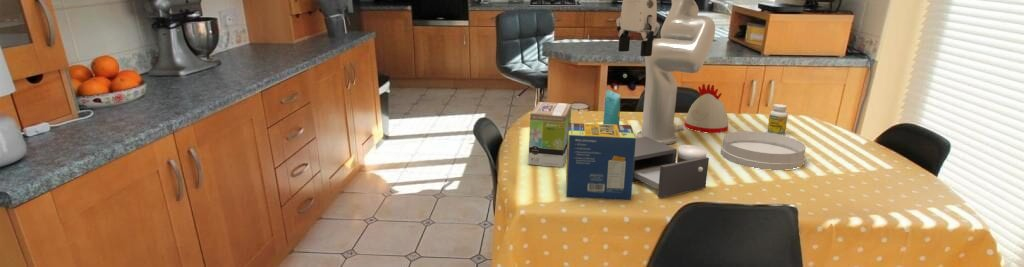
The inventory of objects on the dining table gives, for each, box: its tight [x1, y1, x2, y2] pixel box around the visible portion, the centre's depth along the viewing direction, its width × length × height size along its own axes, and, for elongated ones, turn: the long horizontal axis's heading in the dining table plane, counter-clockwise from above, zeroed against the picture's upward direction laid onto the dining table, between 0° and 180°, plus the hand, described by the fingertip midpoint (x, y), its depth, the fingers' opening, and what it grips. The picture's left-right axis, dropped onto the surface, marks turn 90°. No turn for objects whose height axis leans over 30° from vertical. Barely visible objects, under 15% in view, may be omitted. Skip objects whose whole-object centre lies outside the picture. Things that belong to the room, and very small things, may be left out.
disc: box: [677, 144, 708, 160], centre depth 143 cm, size 7×7×2 cm
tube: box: [602, 89, 622, 125], centre depth 154 cm, size 7×5×19 cm, turn 26°
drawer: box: [633, 156, 710, 199], centre depth 136 cm, size 12×15×8 cm
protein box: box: [565, 122, 637, 201], centre depth 132 cm, size 10×15×16 cm
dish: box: [720, 130, 807, 171], centre depth 158 cm, size 22×22×5 cm
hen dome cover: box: [684, 83, 729, 134], centre depth 187 cm, size 14×14×15 cm
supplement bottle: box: [766, 103, 789, 136], centre depth 181 cm, size 5×5×10 cm
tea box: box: [527, 101, 572, 168], centre depth 155 cm, size 15×10×15 cm, turn 168°
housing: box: [632, 137, 678, 184], centre depth 146 cm, size 12×15×7 cm
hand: (634, 53), depth 148 cm, fingers open, 9 cm apart
